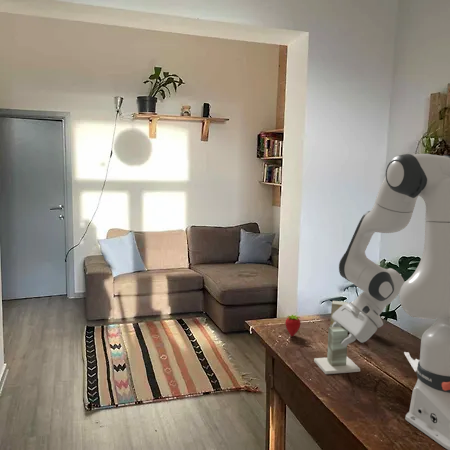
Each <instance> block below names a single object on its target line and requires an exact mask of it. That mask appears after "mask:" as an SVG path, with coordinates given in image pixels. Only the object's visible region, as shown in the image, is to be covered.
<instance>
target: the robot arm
mask: <svg viewBox="0 0 450 450" xmlns="http://www.w3.org/2000/svg"><path fill="white" fill-rule="evenodd" d="M376 195H377V196H376V199H375V201H374V205H373V207H372V208H371V210H368V211H366V212H365V213H364V214H363V215H362V217H361V218H360V219H359V222H358V224H357V227H356V228H355V231H354V232H353V235H352V237H351V240H350V242H349V245H348V247H347V249H346V251H345V252H344V254H343V255H342V257H341V258H340V261H339V263H338V272H339V274H340V276H341V277H342V278H343V279H345V280H347V282H350V283H352V284H353V285H354V286H356V287H357V288H358V289H360V290H361V291H362V292H361V293H360V294H359V295H358V296H356V298H355V299H354V300H353V301H350V302H348V303H347V304H344V305H342V306H341V307H340V308H339V309H338V310H336V311H335V312H334V313H333V315H332V318H333V319H334V321H335V322H334V323H333V325H332V327H342V326H343V327H344V328H345V329H346V330H347V331H348V333H349V334H348V337H347V338H345V339H342V340H341V341H340V344H341V345H342V346H344V347H346V346H347V347H348V345H349V344H351V343H352V344H353V342H355V341H356V340H357V341H358V342H360V343H365V342H367V341H368V340H369V339H370V338H371V337H372V336H373V335H374V334H375V333H376V332H377V330H378V328H381V327H382V326H383V325H384V321H383V319H382V318H381V316H380V315H381V314H382V313H383V311H384V309H385V308H386V307H387V306H389V305H390V304H391V303H393V301H394V300H395V299H396V298H397V296H399V304H400V306H401V308H402V310H403V311H404V313H406V314H407V315H408V316H409V317H412V318H416V319H421V320H422V319H424V320H435V321H434V323H433V324H432V325H431V326H429V327H428V328H427V329H426V330H424V332H423V334H422V335H421V339H420V349H419V351H420V354H419V360H420V361H419V362H418V367H417V372H416V376H417V380H416V383H415V385H414V387H413V389H412V394H411V398H410V399H411V400H410V405H409V411H408V412H407V413H406V414H405V418H404V419H405V420H406V421H407V422H408V423H410V424H411V425H412V426H413V427H415V428H417V429H418V430H419V431H420V432H422V433H424V434H425V435H426V436H428V437H429V438H430V439H431V440H432V441H433V440H434V441H435V442H436V443H437V444H439V445H440V446H442V447H443V448H445V449H446V450H450V155H437V154H432V153H431V154H430V153H414V154H410V153H405V154H400V155H397V156H395V157H393V158H392V159H391V160H389V162H388V164H387V166H386V170H385V175H384V178H383V180H382V182H381V184H380V187H379V189H378V192H377V194H376ZM418 197H421V199H422V200H423V201H424V203H425V218H424V220H425V221H424V222H425V224H424V225H425V226H424V244H423V251H422V256H421V258H420V261H419V263H418V264H417V267H416V269H415V271H414V272H413V273H412V275H411V276H410V277H409V278H408V279H407V280H406V281H405V279H404V277H403V276H402V275H401V274H400V273H399V272H398V271H397V270H395V269H394V268H391V267H389V268H384V267H381V266H380V265H379V264H377V263H375V262H374V261H372V260H371V259H369V258H368V256H367V255H366V250H367V248H368V246H369V244H370V242H371V239H372V237H373V235H374V234H375V233H382V234H391V233H397V232H400V231H402V230H403V229H405V228H406V227H407V226H408V224H409V223H410V221H411V219H412V217H413V213H414V209H415V207H416V202H417V200H418Z"/></svg>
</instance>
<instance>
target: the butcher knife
mask: <svg viewBox="0 0 450 450" xmlns="http://www.w3.org/2000/svg"><path fill="white" fill-rule="evenodd" d="M403 354H404V355H405V357H406V359H407V361H408V362H409V364H410V365H411V368H412V369H413V370H414V372H415V373H417V367H418V362H419V361H420V359H417V358H415V359H414V358H413V357H411V355H410V352H409V351H408V352H406V351H404V352H403Z"/></svg>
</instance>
